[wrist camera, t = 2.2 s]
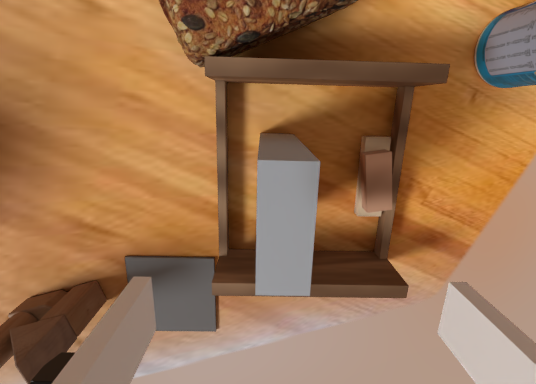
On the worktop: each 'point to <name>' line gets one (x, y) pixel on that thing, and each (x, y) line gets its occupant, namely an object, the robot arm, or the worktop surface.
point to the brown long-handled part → (47, 326)
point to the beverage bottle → (509, 49)
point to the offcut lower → (366, 145)
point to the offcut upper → (376, 180)
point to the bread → (239, 23)
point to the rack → (375, 263)
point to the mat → (178, 290)
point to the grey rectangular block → (285, 215)
